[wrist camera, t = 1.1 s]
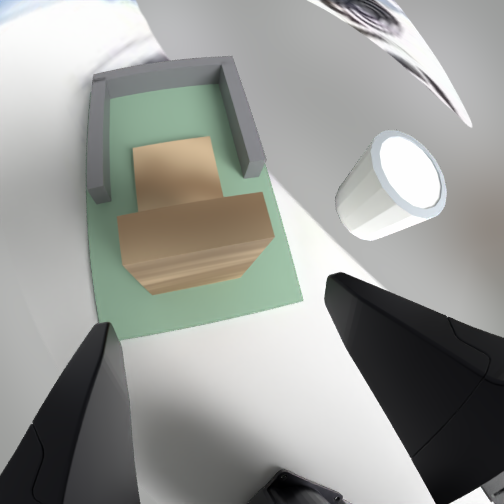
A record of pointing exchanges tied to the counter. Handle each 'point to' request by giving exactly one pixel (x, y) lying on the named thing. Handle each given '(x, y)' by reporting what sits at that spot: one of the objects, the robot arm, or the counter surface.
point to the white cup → (391, 187)
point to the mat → (125, 202)
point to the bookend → (188, 220)
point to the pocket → (159, 79)
